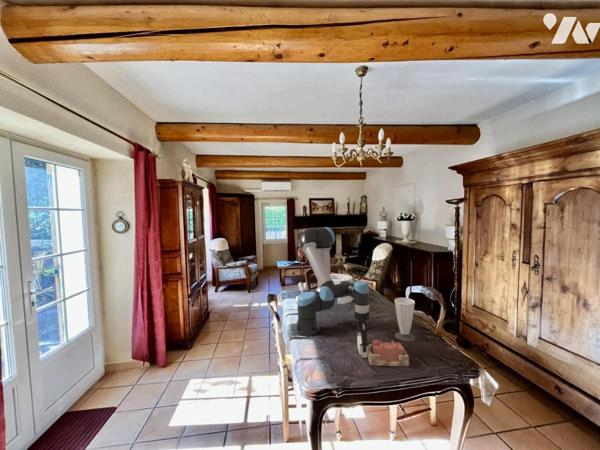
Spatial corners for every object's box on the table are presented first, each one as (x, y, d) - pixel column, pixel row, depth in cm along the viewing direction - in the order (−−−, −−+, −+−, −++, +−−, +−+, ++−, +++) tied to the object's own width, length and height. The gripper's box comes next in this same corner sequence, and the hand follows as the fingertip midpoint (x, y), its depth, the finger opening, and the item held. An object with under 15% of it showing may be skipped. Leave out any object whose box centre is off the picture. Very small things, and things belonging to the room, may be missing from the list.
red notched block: (374, 360, 128) (374, 343, 128) (372, 353, 134) (371, 337, 134) (403, 360, 127) (403, 344, 127) (400, 354, 133) (399, 338, 133)
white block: (367, 355, 136) (367, 344, 135) (359, 355, 136) (359, 344, 136) (364, 346, 145) (364, 335, 144) (357, 346, 145) (357, 335, 145)
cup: (391, 332, 160) (391, 297, 159) (410, 332, 160) (410, 297, 159) (398, 341, 149) (398, 304, 148) (418, 341, 148) (418, 304, 147)
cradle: (370, 365, 126) (370, 355, 126) (366, 353, 137) (366, 344, 137) (409, 367, 125) (409, 356, 124) (402, 354, 136) (402, 345, 135)
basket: (355, 303, 212) (355, 280, 211) (326, 304, 212) (325, 281, 211) (350, 293, 236) (349, 273, 236) (323, 294, 237) (323, 273, 236)
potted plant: (306, 313, 193) (305, 280, 191) (293, 311, 199) (292, 278, 197) (314, 308, 203) (313, 276, 202) (301, 305, 209) (301, 274, 208)
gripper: (373, 321, 127) (373, 363, 128) (365, 303, 151) (365, 339, 152) (357, 320, 127) (358, 363, 128) (352, 303, 152) (352, 338, 153)
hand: (362, 350), depth 140 cm, fingers open, 13 cm apart
